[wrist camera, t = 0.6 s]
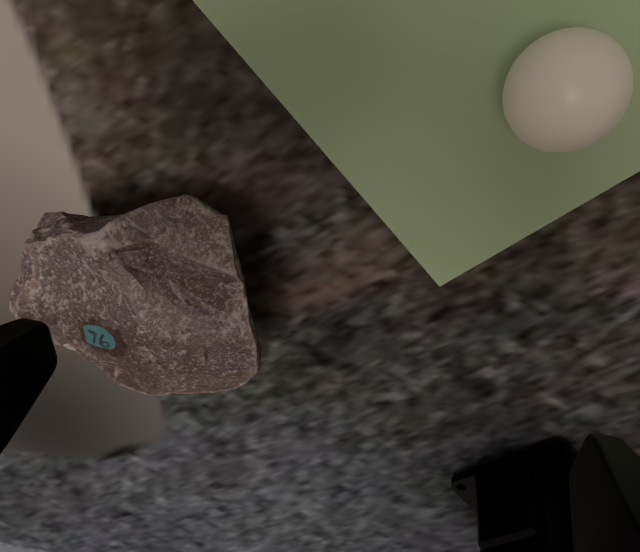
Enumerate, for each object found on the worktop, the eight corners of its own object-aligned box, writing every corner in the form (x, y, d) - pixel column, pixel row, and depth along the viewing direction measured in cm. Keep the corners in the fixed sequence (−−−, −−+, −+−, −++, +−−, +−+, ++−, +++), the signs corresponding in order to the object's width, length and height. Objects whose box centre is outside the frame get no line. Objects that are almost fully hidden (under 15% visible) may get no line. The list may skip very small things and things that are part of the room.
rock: (16, 190, 23) (-68, 239, 19) (253, 180, 20) (211, 234, 16) (82, 331, 27) (24, 393, 23) (285, 338, 25) (257, 409, 21)
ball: (635, 87, 15) (676, 115, 12) (534, 154, 16) (550, 191, 14) (578, -6, 14) (608, 2, 11) (477, 74, 15) (482, 97, 13)
